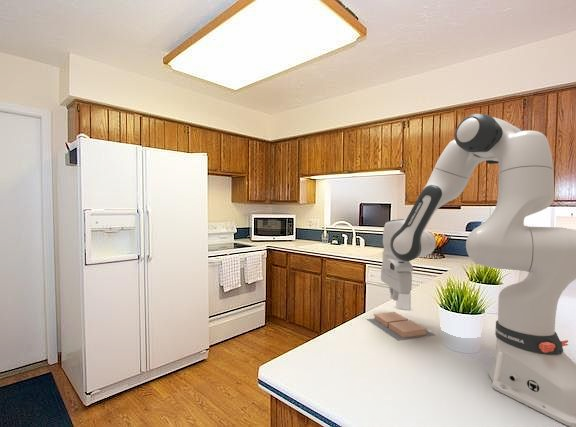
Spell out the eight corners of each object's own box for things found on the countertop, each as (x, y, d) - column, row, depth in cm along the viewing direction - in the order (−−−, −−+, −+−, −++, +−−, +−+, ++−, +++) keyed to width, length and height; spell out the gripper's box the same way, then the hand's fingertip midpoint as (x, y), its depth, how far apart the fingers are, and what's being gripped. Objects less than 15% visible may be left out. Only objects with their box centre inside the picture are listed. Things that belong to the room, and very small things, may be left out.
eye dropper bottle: (405, 312, 125) (406, 283, 125) (394, 308, 130) (394, 280, 129) (412, 310, 127) (412, 282, 127) (401, 306, 132) (401, 279, 132)
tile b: (408, 319, 110) (387, 321, 108) (408, 324, 111) (387, 327, 108) (394, 311, 118) (374, 314, 115) (394, 317, 118) (374, 319, 116)
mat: (435, 335, 102) (435, 335, 102) (398, 341, 97) (398, 340, 97) (399, 316, 120) (399, 315, 120) (366, 320, 116) (366, 319, 116)
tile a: (426, 328, 102) (403, 331, 99) (426, 334, 102) (403, 338, 99) (410, 320, 110) (388, 322, 107) (409, 325, 110) (388, 328, 107)
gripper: (377, 258, 123) (376, 291, 123) (397, 267, 103) (396, 308, 103) (392, 258, 123) (391, 291, 123) (415, 267, 103) (414, 308, 103)
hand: (394, 299), depth 113 cm, fingers closed
